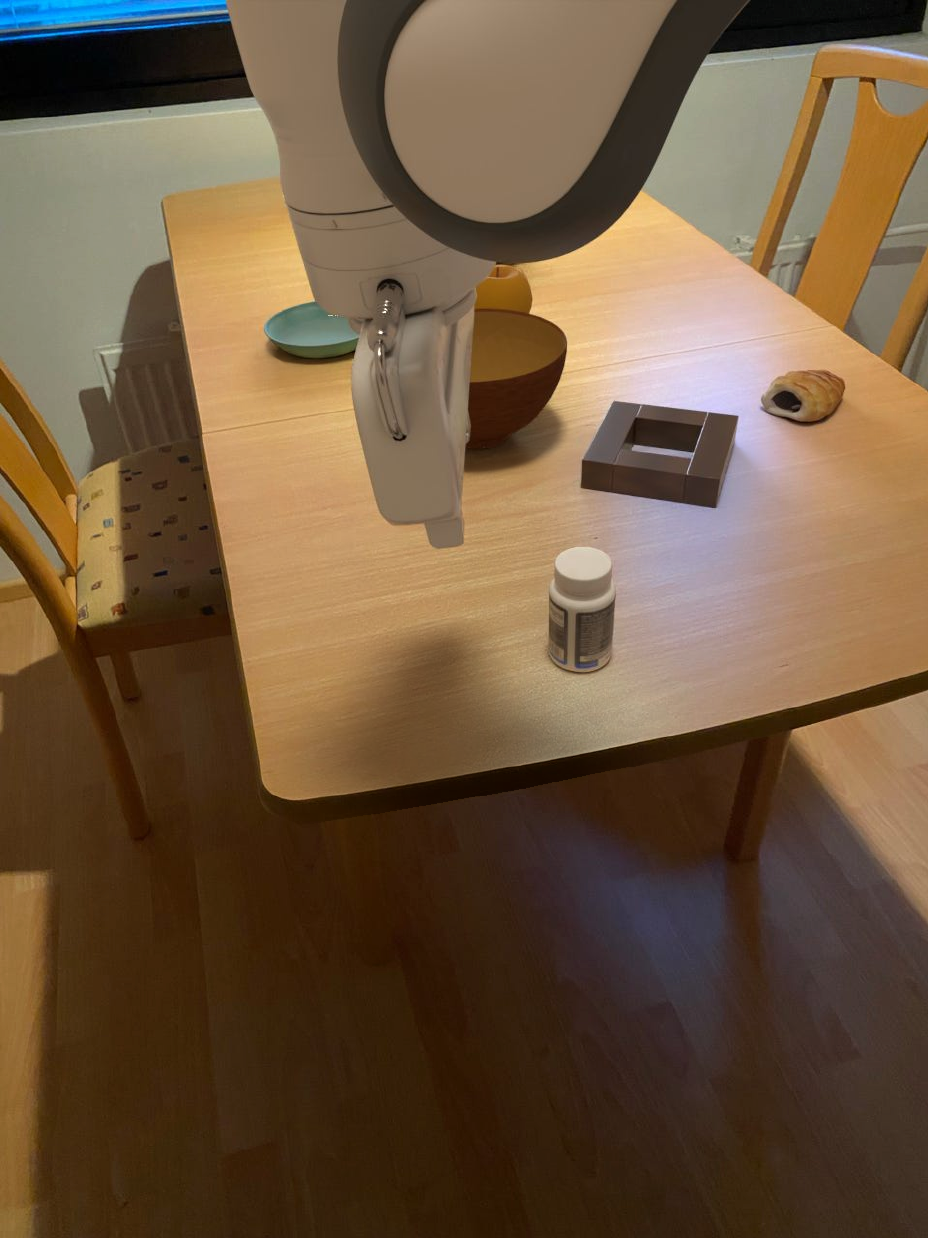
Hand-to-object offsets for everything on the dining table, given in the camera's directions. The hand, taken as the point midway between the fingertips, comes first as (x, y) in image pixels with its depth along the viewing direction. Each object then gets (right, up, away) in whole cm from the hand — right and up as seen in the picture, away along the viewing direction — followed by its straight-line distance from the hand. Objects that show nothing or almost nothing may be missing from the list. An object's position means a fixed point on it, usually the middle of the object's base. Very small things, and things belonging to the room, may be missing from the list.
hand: (453, 485), depth 52 cm
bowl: (+2, +12, +45) cm, 47 cm away
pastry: (+36, +15, +47) cm, 61 cm away
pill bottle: (+9, -10, +18) cm, 23 cm away
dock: (+20, +8, +39) cm, 44 cm away
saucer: (-17, +28, +66) cm, 74 cm away
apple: (+5, +27, +64) cm, 70 cm away
